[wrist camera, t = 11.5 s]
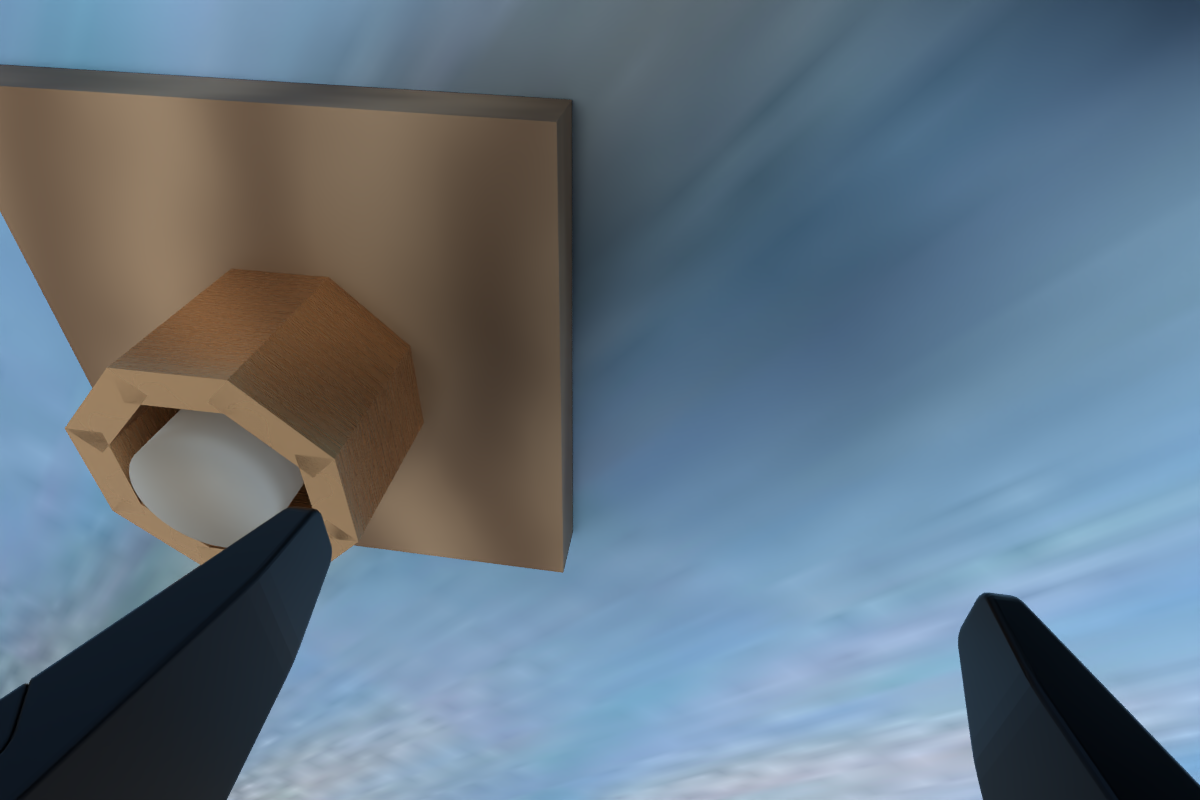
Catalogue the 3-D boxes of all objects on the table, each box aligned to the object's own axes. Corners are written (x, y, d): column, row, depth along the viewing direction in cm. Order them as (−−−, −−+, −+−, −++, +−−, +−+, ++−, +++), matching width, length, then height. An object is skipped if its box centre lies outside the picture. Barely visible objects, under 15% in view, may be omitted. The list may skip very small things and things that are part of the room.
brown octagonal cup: (399, 283, 19) (314, 389, 15) (432, 470, 23) (372, 591, 19) (164, 262, 20) (24, 358, 16) (237, 447, 24) (141, 559, 20)
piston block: (571, 100, 17) (493, 215, 12) (572, 532, 27) (530, 715, 21) (-2, 64, 19) (-330, 149, 13) (192, 484, 29) (54, 642, 23)
